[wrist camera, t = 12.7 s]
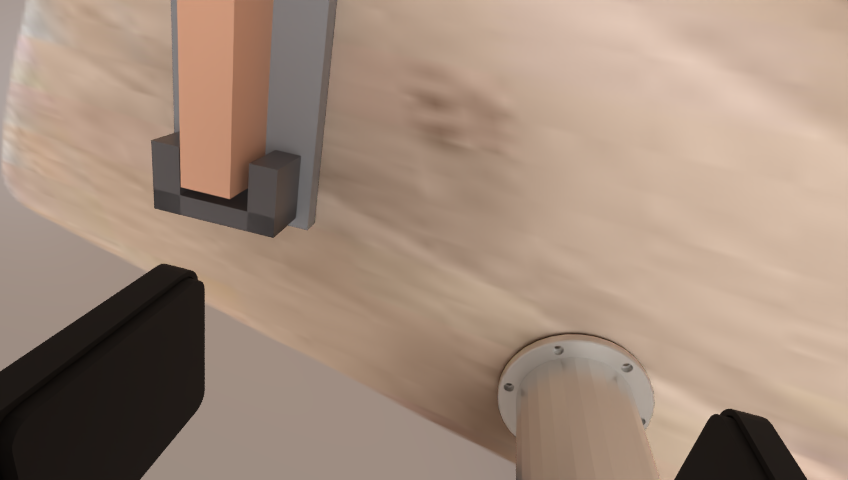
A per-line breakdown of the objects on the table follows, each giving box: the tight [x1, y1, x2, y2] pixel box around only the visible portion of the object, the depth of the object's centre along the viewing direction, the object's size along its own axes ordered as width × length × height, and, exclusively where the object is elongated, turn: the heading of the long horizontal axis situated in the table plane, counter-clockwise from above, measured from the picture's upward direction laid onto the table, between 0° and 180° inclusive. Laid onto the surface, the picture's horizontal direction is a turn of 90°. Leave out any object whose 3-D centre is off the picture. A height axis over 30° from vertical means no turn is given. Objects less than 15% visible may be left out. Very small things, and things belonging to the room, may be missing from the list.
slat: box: [177, 0, 274, 199], centre depth 31 cm, size 20×4×5 cm, turn 169°
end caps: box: [151, 131, 301, 238], centre depth 32 cm, size 25×9×4 cm, turn 169°
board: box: [171, 0, 337, 230], centre depth 34 cm, size 27×11×2 cm, turn 169°
